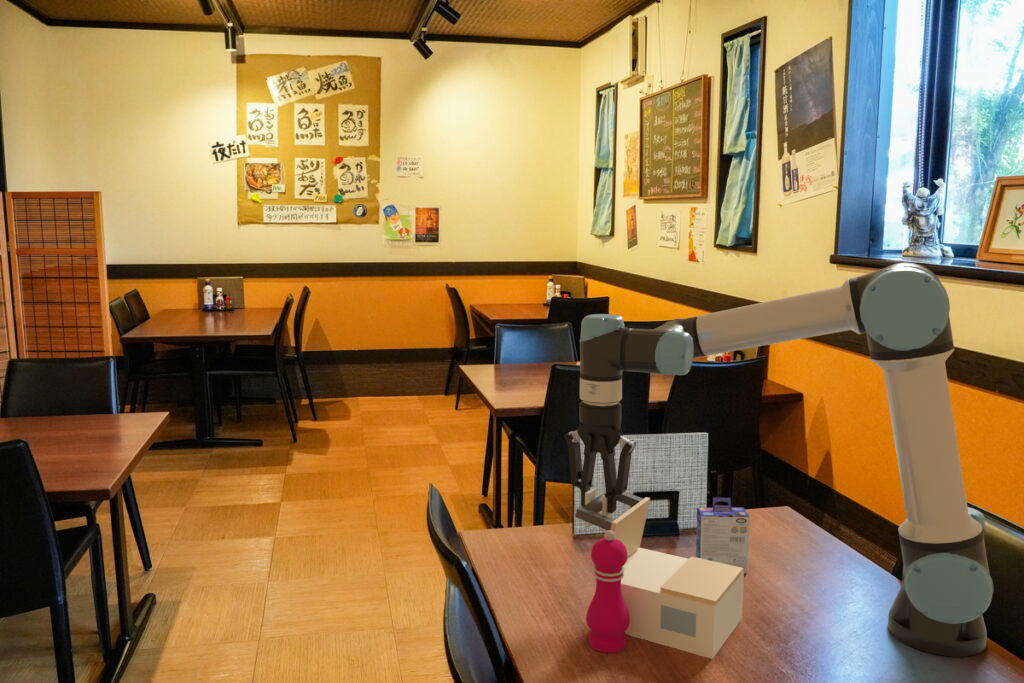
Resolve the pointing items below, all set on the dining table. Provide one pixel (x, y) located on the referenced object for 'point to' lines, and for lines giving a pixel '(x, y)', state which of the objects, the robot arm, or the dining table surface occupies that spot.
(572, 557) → the dining table surface
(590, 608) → the pepper mill
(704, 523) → the ink cartridge box
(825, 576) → the dining table surface
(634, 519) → the flap
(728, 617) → the carton
